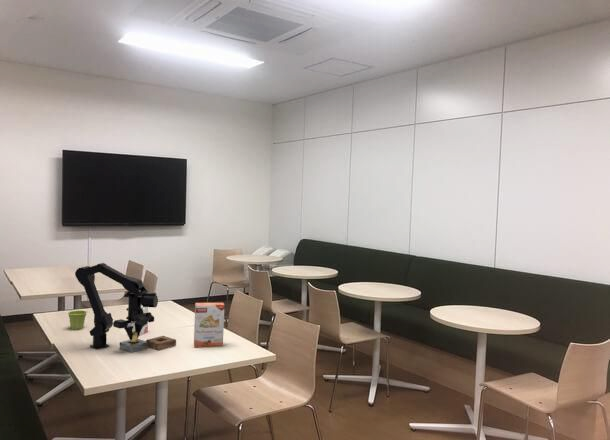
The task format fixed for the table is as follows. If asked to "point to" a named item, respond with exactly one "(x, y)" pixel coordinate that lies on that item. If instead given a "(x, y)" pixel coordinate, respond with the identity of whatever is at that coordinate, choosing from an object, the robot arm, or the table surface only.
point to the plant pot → (77, 319)
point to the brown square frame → (161, 342)
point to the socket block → (133, 345)
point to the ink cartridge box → (145, 327)
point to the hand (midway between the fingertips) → (133, 339)
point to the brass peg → (134, 337)
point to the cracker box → (209, 324)
